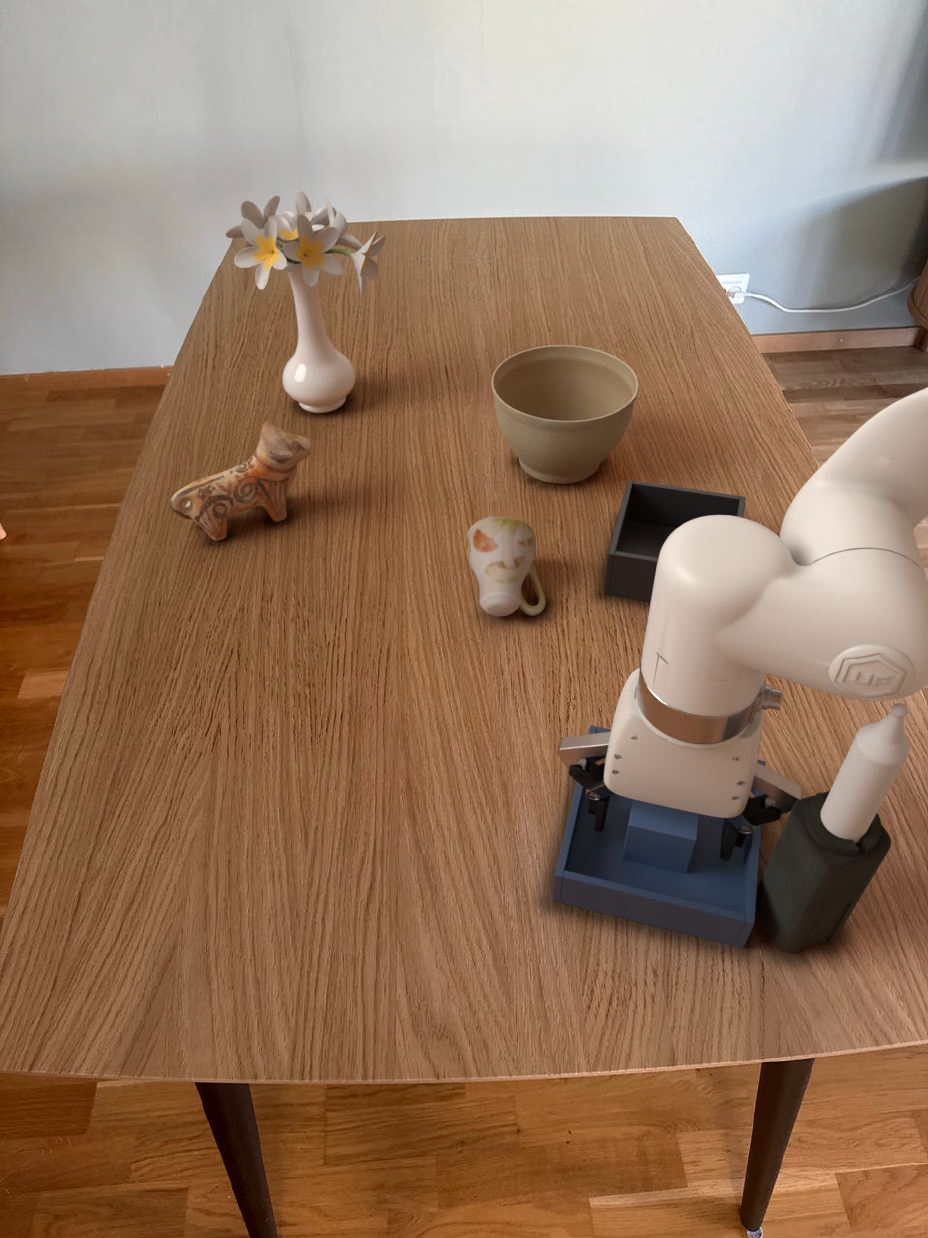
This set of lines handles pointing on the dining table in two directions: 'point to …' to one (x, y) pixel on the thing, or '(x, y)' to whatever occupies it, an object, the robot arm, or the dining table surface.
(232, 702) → the dining table surface
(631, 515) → the charcoal bin
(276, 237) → the flower vase
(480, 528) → the mug
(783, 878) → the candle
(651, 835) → the blue block
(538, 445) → the planter bowl
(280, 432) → the figurine
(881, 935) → the dining table surface
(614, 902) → the blue bin
